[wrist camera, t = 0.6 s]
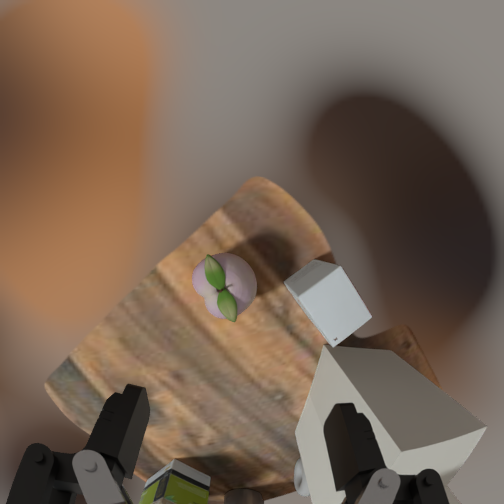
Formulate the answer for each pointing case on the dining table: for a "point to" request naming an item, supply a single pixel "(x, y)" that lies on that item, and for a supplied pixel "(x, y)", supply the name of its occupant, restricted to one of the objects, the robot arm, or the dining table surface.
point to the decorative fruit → (225, 284)
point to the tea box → (177, 486)
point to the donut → (300, 479)
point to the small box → (328, 300)
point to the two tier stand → (384, 418)
